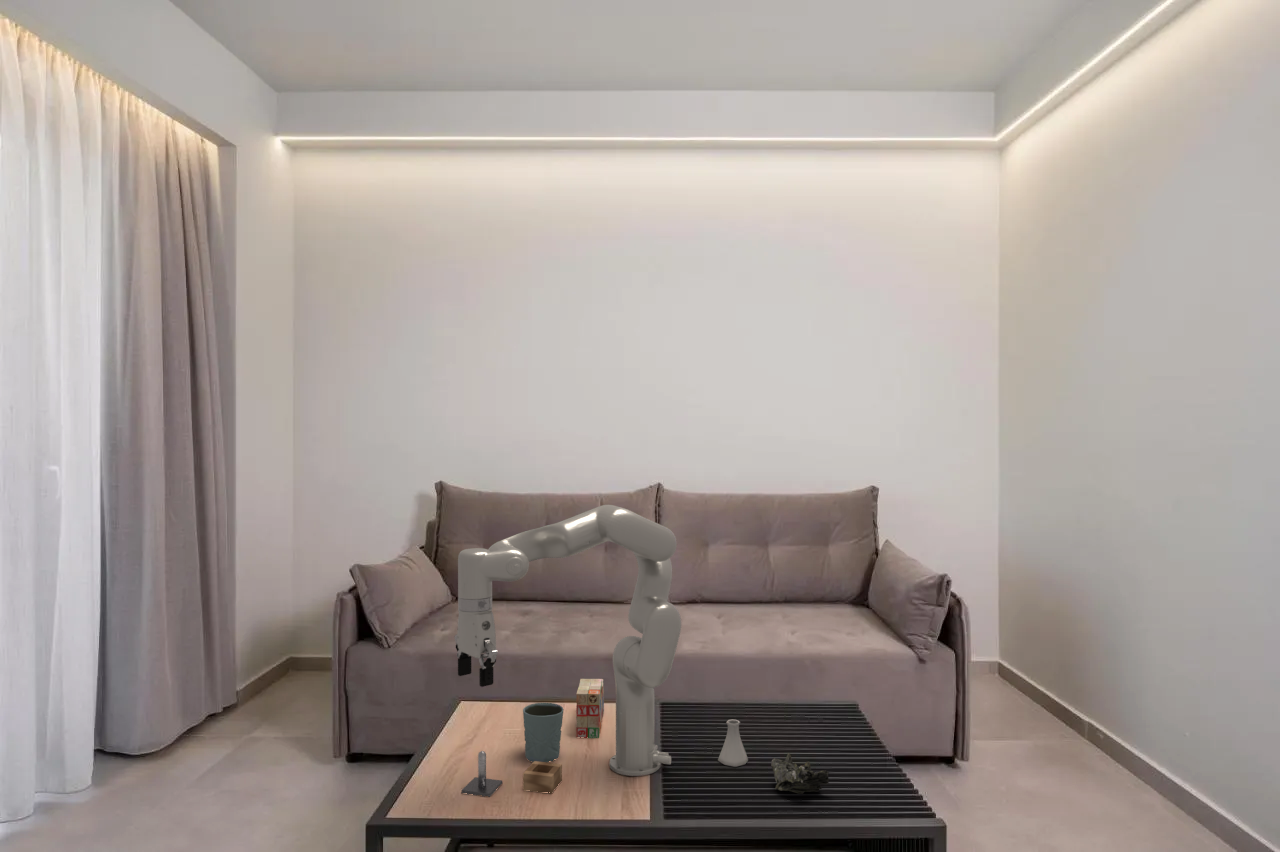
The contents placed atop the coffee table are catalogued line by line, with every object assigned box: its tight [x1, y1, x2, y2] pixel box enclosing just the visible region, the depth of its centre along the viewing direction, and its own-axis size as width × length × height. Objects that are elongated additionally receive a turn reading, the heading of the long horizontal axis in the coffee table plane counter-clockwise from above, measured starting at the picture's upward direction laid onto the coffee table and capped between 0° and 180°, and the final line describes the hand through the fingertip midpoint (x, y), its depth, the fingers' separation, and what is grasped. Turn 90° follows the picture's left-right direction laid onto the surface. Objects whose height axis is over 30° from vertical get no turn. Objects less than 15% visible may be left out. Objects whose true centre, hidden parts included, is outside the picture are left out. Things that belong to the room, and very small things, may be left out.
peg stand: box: [461, 750, 503, 798], centre depth 194 cm, size 7×7×9 cm
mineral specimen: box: [770, 752, 830, 795], centre depth 195 cm, size 15×13×10 cm
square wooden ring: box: [522, 761, 563, 794], centre depth 196 cm, size 7×7×4 cm
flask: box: [717, 719, 749, 768], centre depth 210 cm, size 7×7×10 cm
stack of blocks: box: [575, 678, 605, 739], centre depth 235 cm, size 21×6×12 cm, turn 179°
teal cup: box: [522, 702, 565, 763], centre depth 213 cm, size 10×10×12 cm
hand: (475, 679), depth 189 cm, fingers open, 9 cm apart
